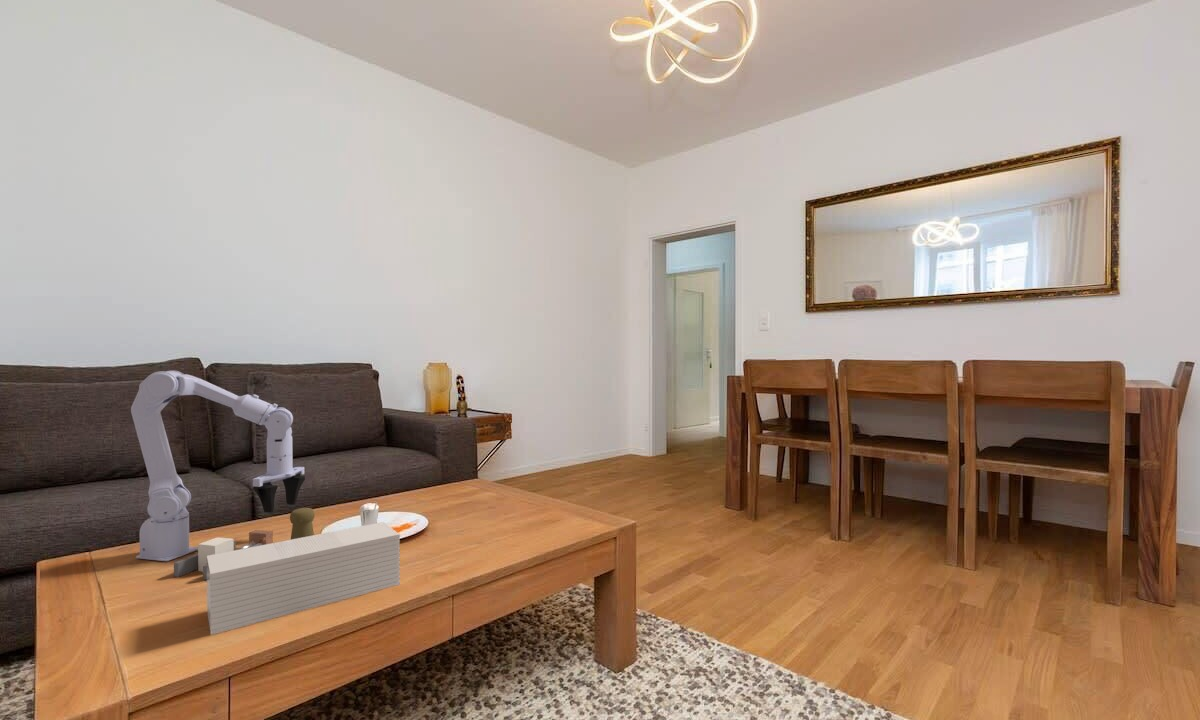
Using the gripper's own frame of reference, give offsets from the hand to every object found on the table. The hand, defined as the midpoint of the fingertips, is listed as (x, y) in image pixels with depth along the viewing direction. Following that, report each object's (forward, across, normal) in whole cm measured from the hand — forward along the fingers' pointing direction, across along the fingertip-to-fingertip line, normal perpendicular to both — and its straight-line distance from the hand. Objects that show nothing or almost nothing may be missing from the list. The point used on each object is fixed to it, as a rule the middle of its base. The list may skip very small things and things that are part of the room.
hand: (280, 508), depth 138 cm
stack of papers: (+9, -26, -32) cm, 42 cm away
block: (+8, -18, 0) cm, 20 cm away
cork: (+9, -7, -13) cm, 17 cm away
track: (+8, -17, 0) cm, 19 cm away
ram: (+8, -10, 0) cm, 13 cm away
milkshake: (+9, +6, -22) cm, 24 cm away
